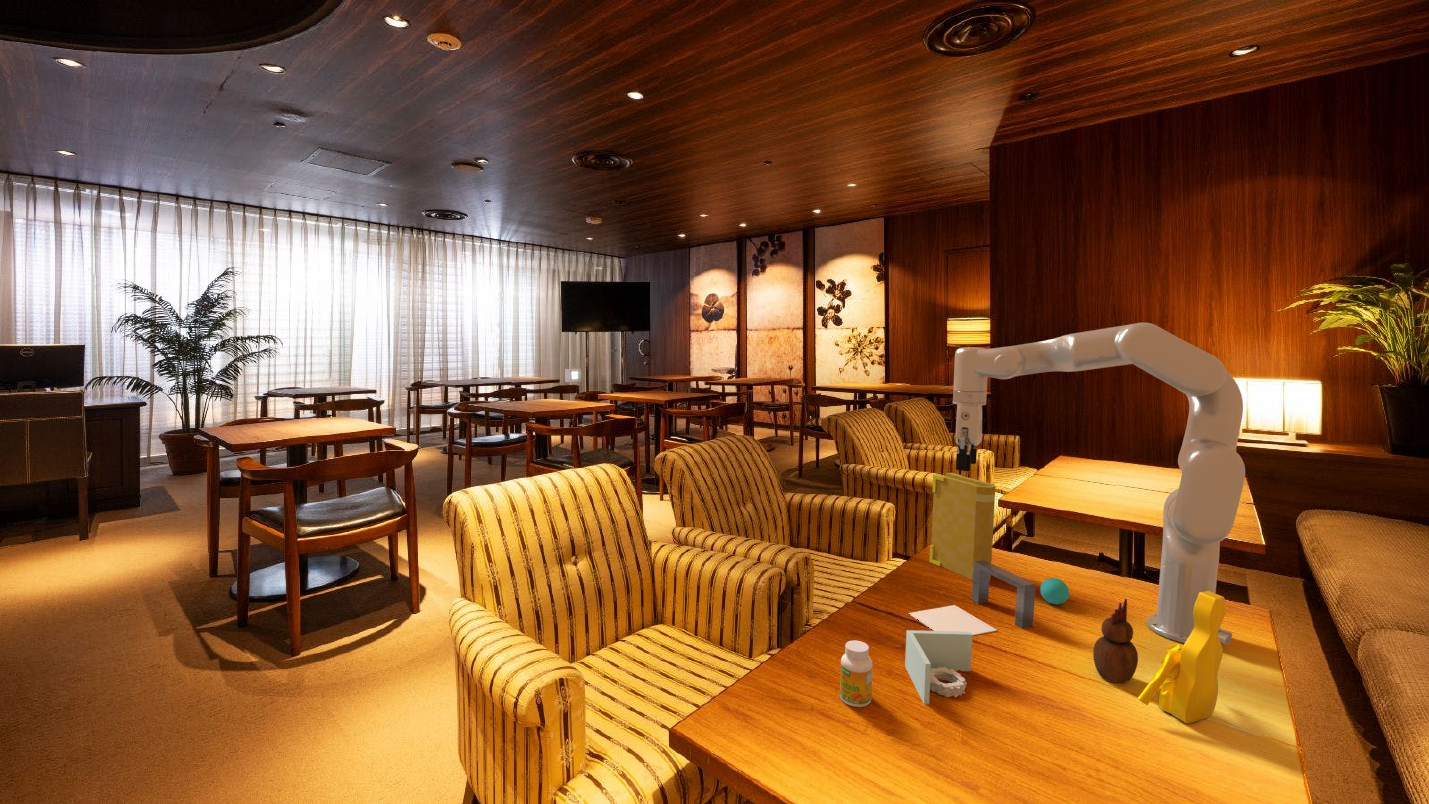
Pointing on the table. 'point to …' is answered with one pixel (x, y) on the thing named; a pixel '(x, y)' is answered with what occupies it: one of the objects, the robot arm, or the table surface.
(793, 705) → the table surface
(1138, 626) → the table surface
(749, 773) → the table surface
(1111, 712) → the table surface
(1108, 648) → the wooden figurine
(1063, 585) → the ball
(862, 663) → the supplement bottle
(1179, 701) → the figure statuette
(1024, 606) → the bridge
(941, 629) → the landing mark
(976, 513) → the book
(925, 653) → the l-shaped corner panel
